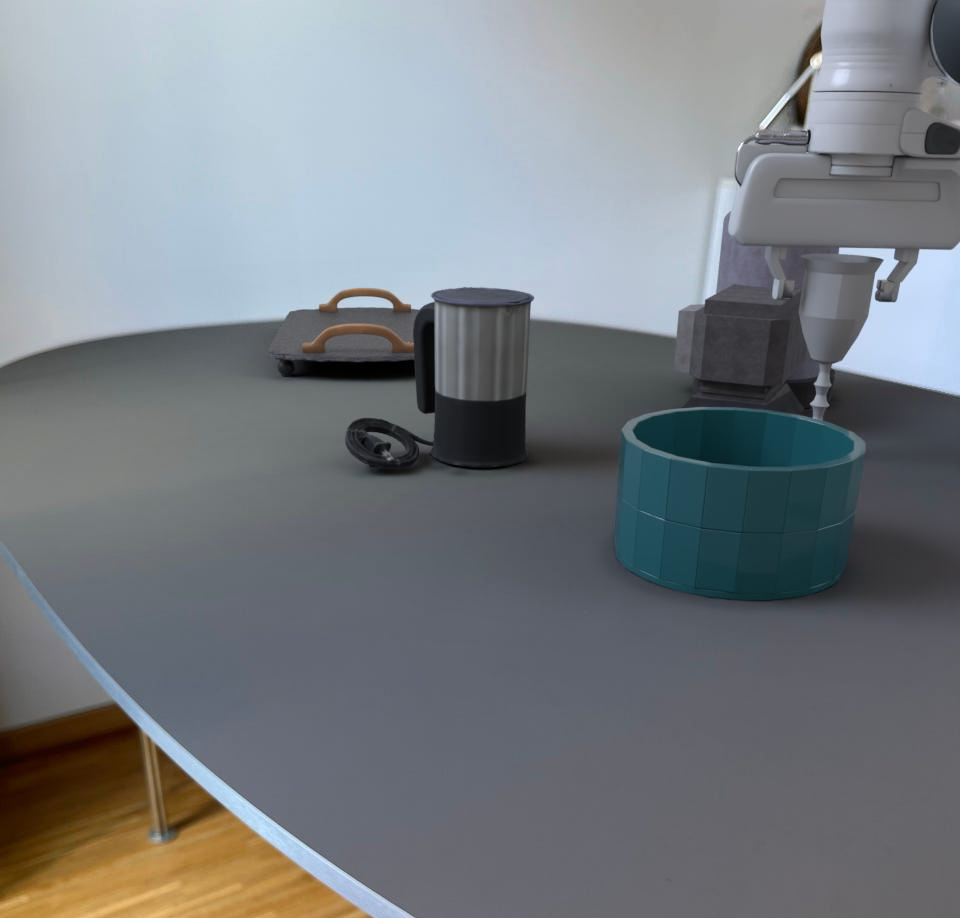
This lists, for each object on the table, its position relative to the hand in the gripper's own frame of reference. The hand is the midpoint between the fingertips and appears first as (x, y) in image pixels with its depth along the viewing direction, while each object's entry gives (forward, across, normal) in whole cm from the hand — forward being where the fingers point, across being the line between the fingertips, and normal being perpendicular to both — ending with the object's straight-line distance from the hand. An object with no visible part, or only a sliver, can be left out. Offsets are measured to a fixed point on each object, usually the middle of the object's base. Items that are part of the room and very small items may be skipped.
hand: (833, 300), depth 97 cm
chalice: (+14, 0, 0) cm, 15 cm away
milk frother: (+15, -36, -3) cm, 39 cm away
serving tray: (+15, -48, +49) cm, 70 cm away
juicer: (+15, -1, +21) cm, 26 cm away
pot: (+14, -14, -27) cm, 34 cm away
